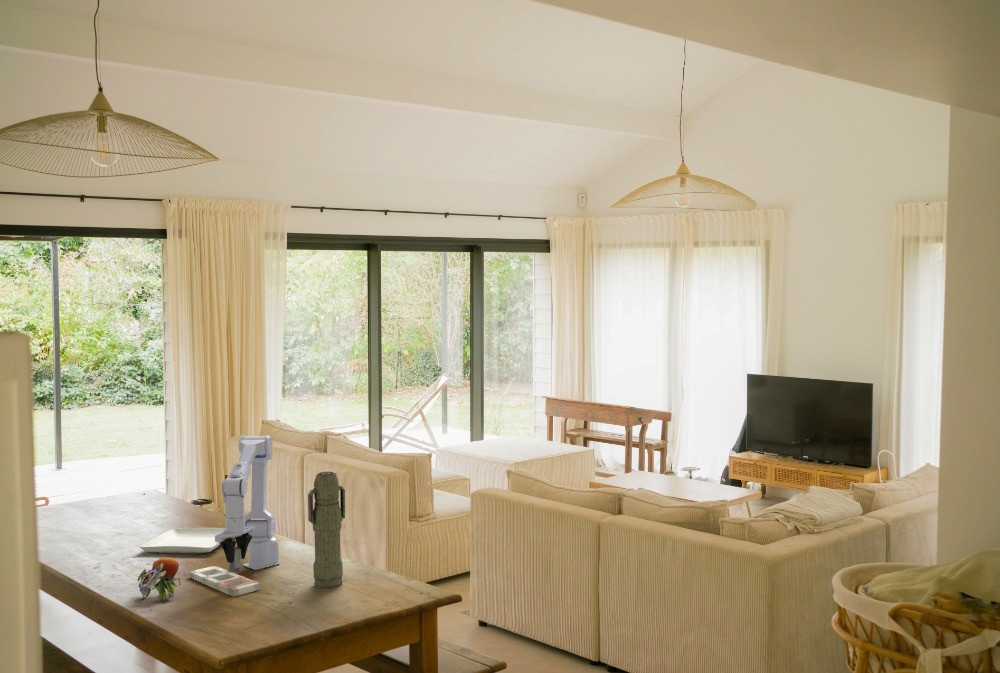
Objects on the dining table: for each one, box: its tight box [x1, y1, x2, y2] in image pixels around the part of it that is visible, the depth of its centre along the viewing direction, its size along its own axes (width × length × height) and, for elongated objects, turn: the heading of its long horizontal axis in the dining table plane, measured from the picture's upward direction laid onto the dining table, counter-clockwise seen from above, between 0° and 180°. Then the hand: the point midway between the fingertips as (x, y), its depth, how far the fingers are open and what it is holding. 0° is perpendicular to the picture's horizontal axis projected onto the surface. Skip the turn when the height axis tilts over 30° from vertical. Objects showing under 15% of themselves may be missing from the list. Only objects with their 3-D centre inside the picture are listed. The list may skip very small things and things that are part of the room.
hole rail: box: [188, 565, 261, 597], centre depth 290 cm, size 9×28×2 cm, turn 45°
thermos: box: [307, 471, 346, 589], centre depth 287 cm, size 9×12×35 cm
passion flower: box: [137, 563, 182, 602], centre depth 278 cm, size 11×11×12 cm
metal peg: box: [227, 545, 243, 573], centre depth 284 cm, size 4×4×7 cm
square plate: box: [139, 527, 226, 554], centre depth 336 cm, size 27×27×4 cm
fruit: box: [151, 557, 180, 581], centre depth 296 cm, size 8×8×8 cm
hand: (236, 560), depth 284 cm, fingers closed on metal peg, 4 cm apart
